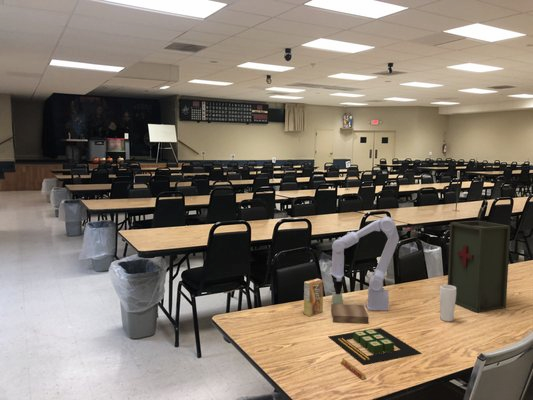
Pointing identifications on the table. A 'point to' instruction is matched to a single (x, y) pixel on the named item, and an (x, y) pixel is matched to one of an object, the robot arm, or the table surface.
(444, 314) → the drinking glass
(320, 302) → the candy box
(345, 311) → the walnut base
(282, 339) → the table surface
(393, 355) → the sushi
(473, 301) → the first aid box
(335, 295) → the green block
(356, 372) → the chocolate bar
